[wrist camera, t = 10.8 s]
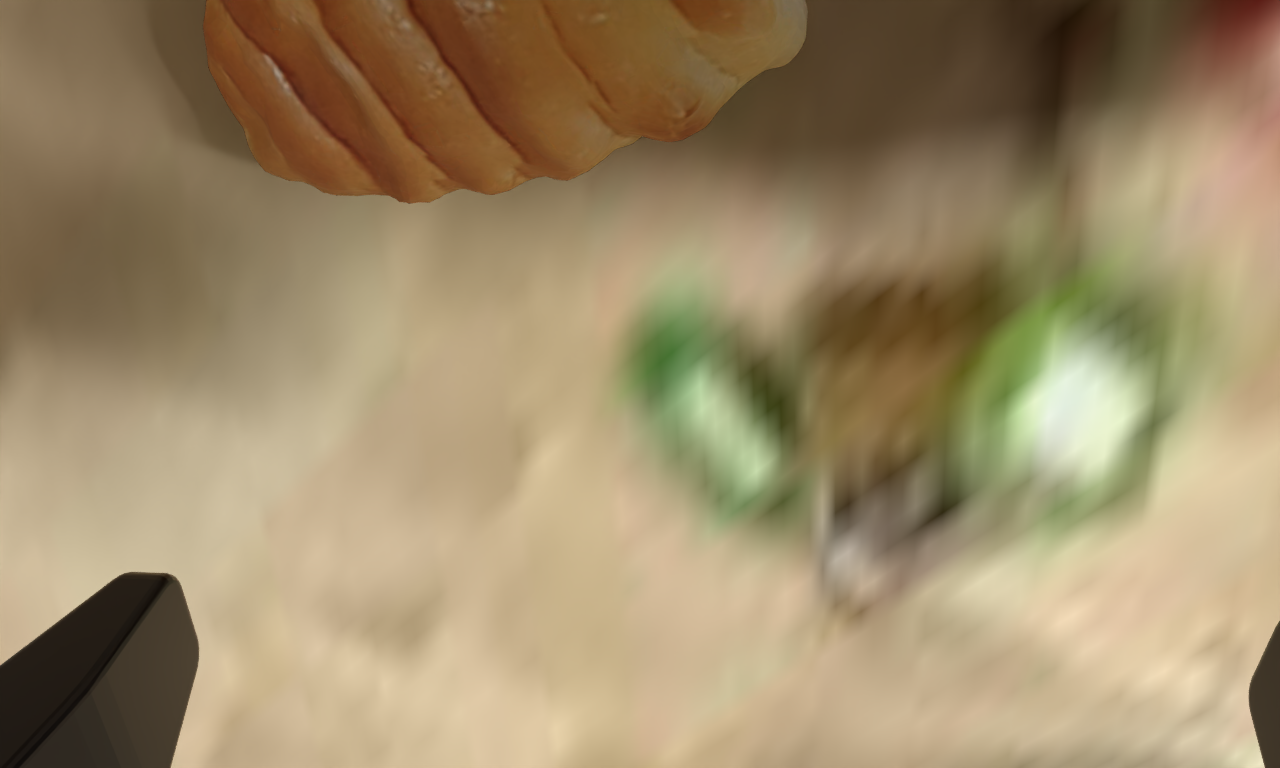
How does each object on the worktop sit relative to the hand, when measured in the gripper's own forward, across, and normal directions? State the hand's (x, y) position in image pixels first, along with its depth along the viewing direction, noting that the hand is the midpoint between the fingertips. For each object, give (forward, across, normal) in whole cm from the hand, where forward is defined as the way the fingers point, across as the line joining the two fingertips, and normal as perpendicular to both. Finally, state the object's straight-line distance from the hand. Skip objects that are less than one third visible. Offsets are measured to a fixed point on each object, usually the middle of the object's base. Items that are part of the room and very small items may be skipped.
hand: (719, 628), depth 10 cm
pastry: (+14, +6, -3) cm, 16 cm away
